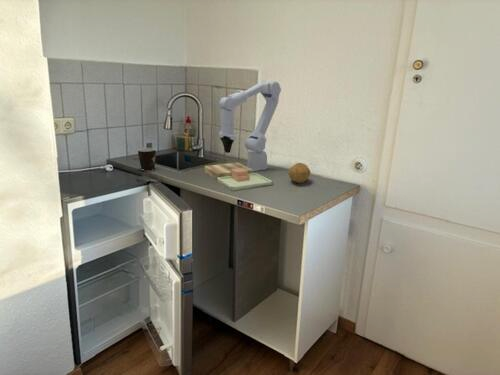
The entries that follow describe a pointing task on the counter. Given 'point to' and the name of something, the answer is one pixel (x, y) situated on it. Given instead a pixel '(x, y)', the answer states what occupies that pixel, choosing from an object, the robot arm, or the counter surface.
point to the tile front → (241, 178)
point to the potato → (299, 172)
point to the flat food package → (224, 169)
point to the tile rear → (239, 172)
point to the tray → (244, 182)
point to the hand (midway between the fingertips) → (227, 152)
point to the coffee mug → (147, 158)
